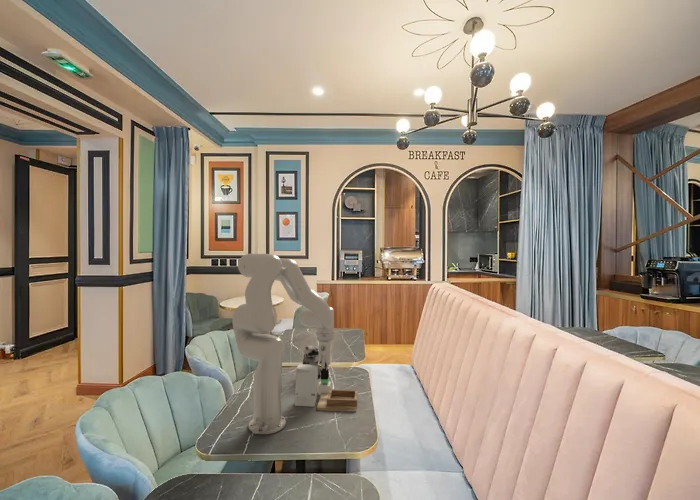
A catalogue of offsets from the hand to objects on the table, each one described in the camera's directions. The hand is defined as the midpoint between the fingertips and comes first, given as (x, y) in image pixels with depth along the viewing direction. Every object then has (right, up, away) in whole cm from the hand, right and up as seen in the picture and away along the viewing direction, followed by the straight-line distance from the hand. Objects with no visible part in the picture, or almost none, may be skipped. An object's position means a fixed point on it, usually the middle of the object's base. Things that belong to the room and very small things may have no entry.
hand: (324, 378), depth 150 cm
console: (0, -6, 0) cm, 6 cm away
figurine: (-8, -6, +17) cm, 20 cm away
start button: (0, -5, 0) cm, 5 cm away
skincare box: (-7, -6, -10) cm, 14 cm away
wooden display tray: (+6, -6, -10) cm, 13 cm away
